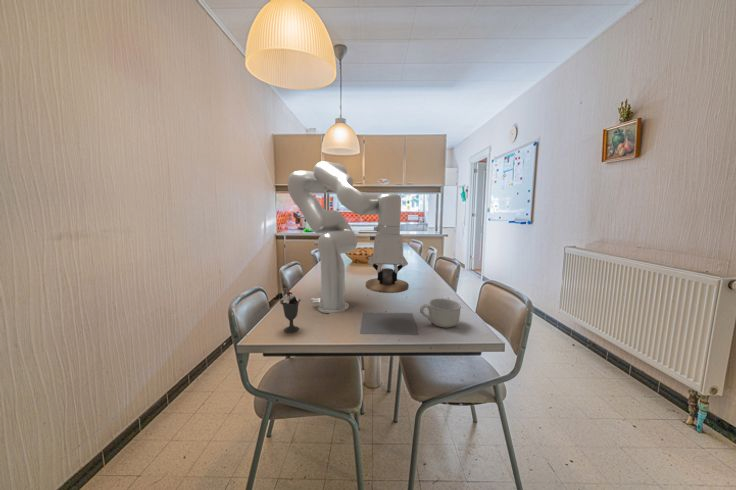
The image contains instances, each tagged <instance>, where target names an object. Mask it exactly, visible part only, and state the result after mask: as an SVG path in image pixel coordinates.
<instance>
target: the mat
mask: <svg viewBox="0 0 736 490" xmlns="http://www.w3.org/2000/svg"><path fill="white" fill-rule="evenodd" d="M360 324H361V326H360V331H359V332H360V333H359V335H398V336H399V335H402V336H405V335H406V336H410V335H411V336H418V335H420V334H419V330H418V327H417V325H416V321H415V317H414V314H413V313H412V312H365V311H364V312H362V319H361V323H360Z"/></svg>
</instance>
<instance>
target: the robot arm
mask: <svg viewBox="0 0 736 490" xmlns="http://www.w3.org/2000/svg"><path fill="white" fill-rule="evenodd" d="M353 185H354V179H353V177H352V176H351V175H350V174H348V171H347V168H346V167H345V166H344V165H342V164H341V163H337V162H331V161H326V160H323V161H319V162H317V163H316V164H315V165H314V167H313V171H310V170H295V171H293V172H291V173H290V174H289V176H288V179H287V189H288V194H289V196H290V197H291V200H292V202H293V203H294V204H295V205H296V206H297V208H298V210H299V211H300V212H301V214H302V216H303V217H304V220H305V221H306V223H307V224H308V226H309V227H310V229H311V231H312V232H314V233H315V234H320V235H319V237H318V240H317V249H318V254H319V258H320V261H319V262H320V284H321V286H320V287H321V288H320V291H321V293H320V294H321V296H320V297H310V298H311V299H310V303H311V304H312V305H317V310H318V311H319V312H321V313H324V314H335V313H336V314H337V313H342V312H345V311H347V310H348V309H349V307H350V305H349V303H348V302H346V287H345V286H346V280H345V279H346V278H345V276H346V274H345V272H346V271H345V269H346V268H345V262H344V259H343V257H342V254H348V253H351V252H354V250H355V249H356V248H357V245H358V238H357V235H356V234H355V232H354V231H353V230H354V229H353V228H352V227H351V225H350V224H349V223H348V221H347V219H346V218H345V217H344V215H343V214H342V213H341V212H340V211H337V210H334V209H329V210H328V209H325V208H324V207H323V206H322V204H321V203H320V200H318V199H317V197H316V196H315V195H313V194H312V193H322V192H326V191H331V192H333V193H334V194H336V197H337V199H338V201H339V203H340V204H341V205H342V206H343V207H345V208H346V209H347V210H349V211H350V212H351V213H353V214H355V215H359V216H375V215H376V216H378V219H377V224H378V225H377V226H373V232H377V233H375V237H374V240H373V241H374V242H373V251H372V255H371V256H370V257H369V259H368V261H367V264H368V265H370V266H371V267H373V269H375V271H377V278H378V281H380V284H381V283H382V266H383V265H391V266H392V265H393V284H395V281H397V279H398V272H399V271H400V270H401V269H403V268H405V267H406V266H408V264H409V263H408V261H407V259H406V257H405V256H404V241H403V239H404V238H403V235H402V234H401V216H402V215H401V214H402V197H401V195H400V194H397V193H396V194H395V193H383V194H381V193H372V192H362V191H360V190H358V189H356V188H355V187H354V186H353Z"/></svg>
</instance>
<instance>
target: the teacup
mask: <svg viewBox="0 0 736 490" xmlns="http://www.w3.org/2000/svg"><path fill="white" fill-rule="evenodd" d="M425 308H427V309H428V314H426V313H425V311H424V309H425ZM461 309H462V305H461V304H460V303H459V302H458V301H456V300H453V299H449V298H442V297H441V298H440V297H438V298H432V299H430V301H429V303H427V304H425V303H424V304H422V305H421V306H420V309H419V310H420V314H421V315H422V316H423V317H424V318H426V319H427V320H428V321H430V322H431V323H432V324H433V325H434V326H436V327H439V328H447V329H448V328H452V327H455V326H456V325H458V323H459V322H460V318H461V317H460V315H461Z"/></svg>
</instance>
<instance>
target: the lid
mask: <svg viewBox="0 0 736 490" xmlns="http://www.w3.org/2000/svg"><path fill="white" fill-rule="evenodd" d="M381 271H382V283H381V284H380V281H378V277H377V278H371V279H368V280H366V281H365V288H366V289H368V290H369V291H371V292H376V293H382V294H398V293H402V292H403V293H404V292H406V291H408V290H409V288H410V287H409V283H408V282H407V281H405V280H402V279H399V278H397V281H395V284H393V271H394V268H390V267H388V268H387V267H384V268H381Z"/></svg>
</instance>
